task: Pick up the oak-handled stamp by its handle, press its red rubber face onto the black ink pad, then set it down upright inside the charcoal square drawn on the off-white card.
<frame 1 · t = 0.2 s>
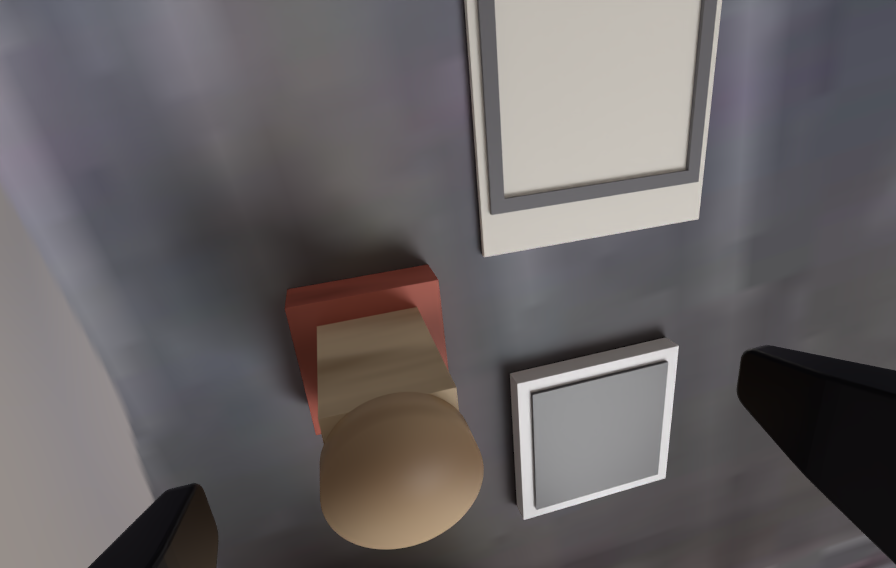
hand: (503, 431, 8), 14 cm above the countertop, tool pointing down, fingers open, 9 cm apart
print sheet: (596, 74, 20), on the countertop
stamp: (370, 337, 22), on the countertop
ink pad: (589, 424, 27), on the countertop
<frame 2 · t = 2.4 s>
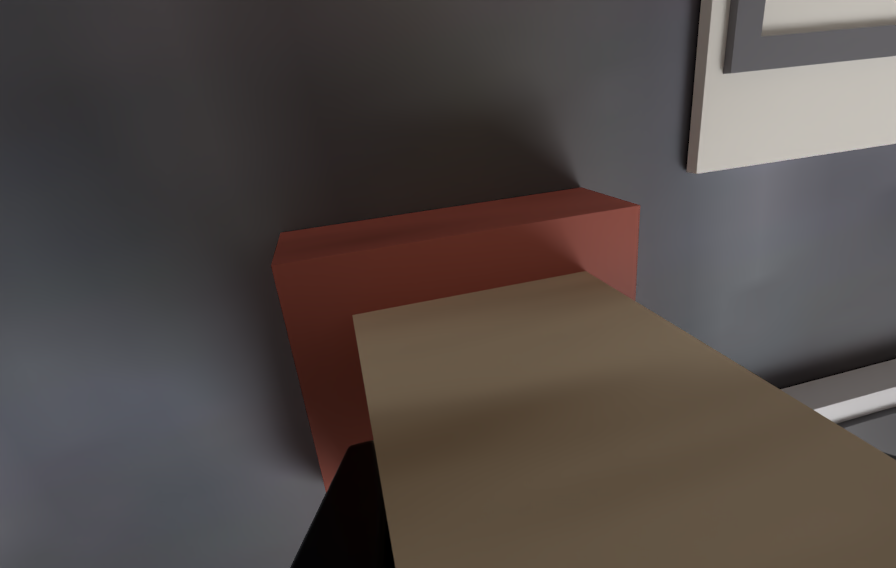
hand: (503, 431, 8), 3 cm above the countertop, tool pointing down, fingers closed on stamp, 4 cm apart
stamp: (454, 344, 10), on the countertop, touching gripper
ink pad: (805, 495, 16), on the countertop
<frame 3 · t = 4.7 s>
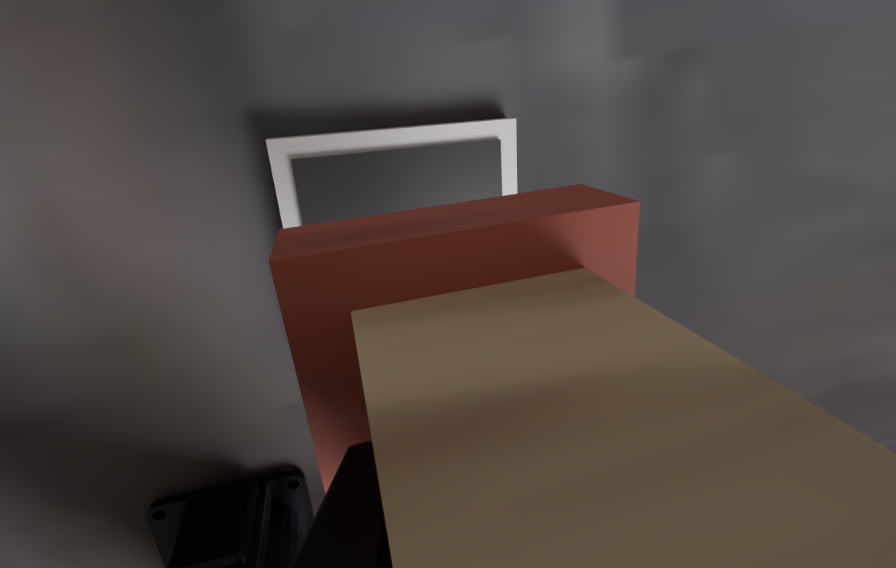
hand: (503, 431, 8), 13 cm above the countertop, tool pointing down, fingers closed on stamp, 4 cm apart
stamp: (453, 342, 10), point 10 cm above the countertop, touching gripper
ink pad: (405, 242, 20), on the countertop
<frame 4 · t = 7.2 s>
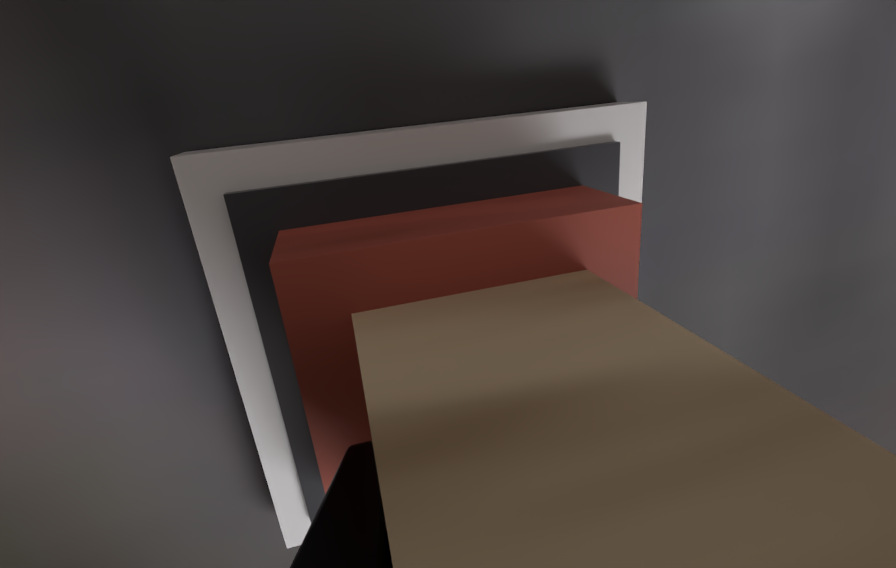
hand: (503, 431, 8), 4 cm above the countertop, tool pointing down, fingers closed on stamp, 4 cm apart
stamp: (454, 344, 10), point 1 cm above the countertop, touching gripper, ink pad
ink pad: (443, 322, 11), on the countertop
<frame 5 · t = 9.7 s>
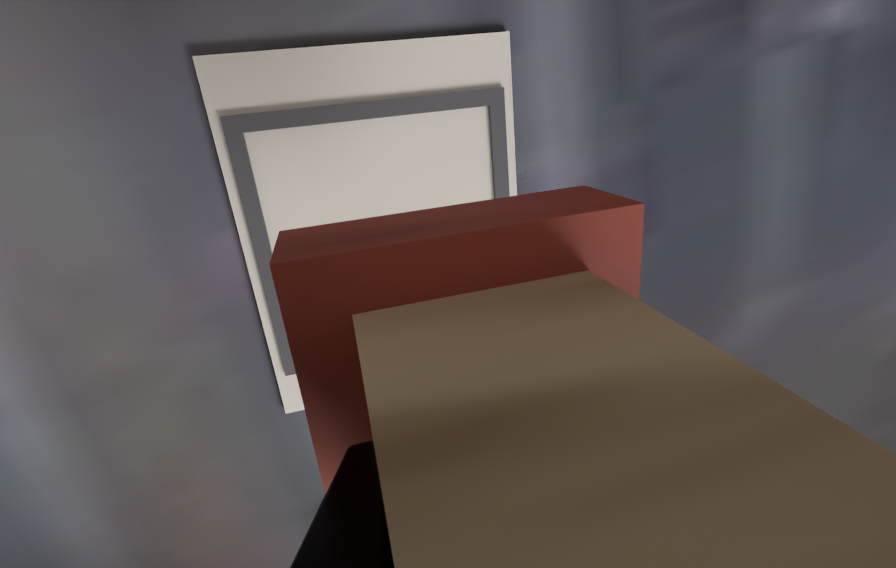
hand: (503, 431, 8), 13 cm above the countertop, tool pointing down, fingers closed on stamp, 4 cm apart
print sheet: (388, 234, 20), on the countertop
stamp: (455, 344, 10), point 10 cm above the countertop, touching gripper
when the fingers open (4 cm above the countertop, at t = 12.0 s): stamp drops 1 cm, resting on print sheet.
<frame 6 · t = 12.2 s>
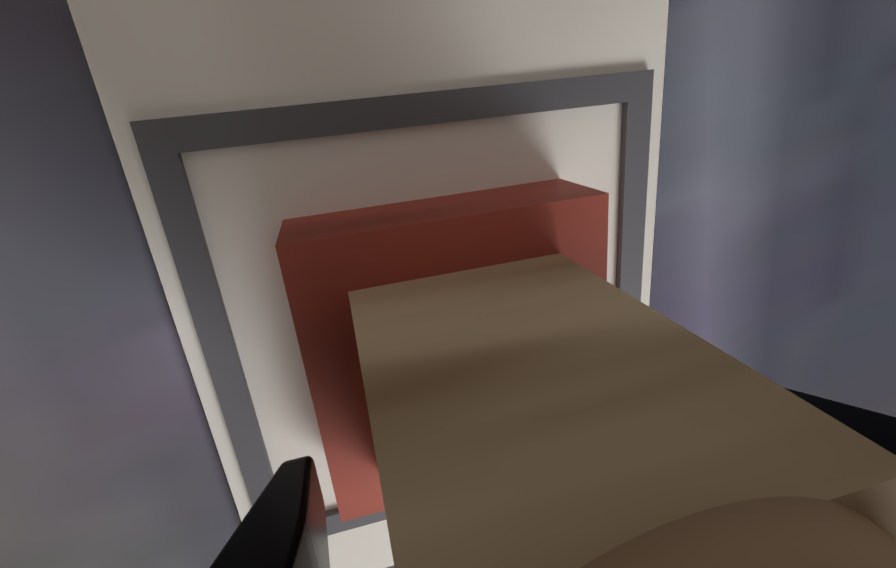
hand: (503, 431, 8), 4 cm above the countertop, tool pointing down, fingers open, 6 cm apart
print sheet: (440, 320, 12), on the countertop
stamp: (443, 324, 11), resting on print sheet
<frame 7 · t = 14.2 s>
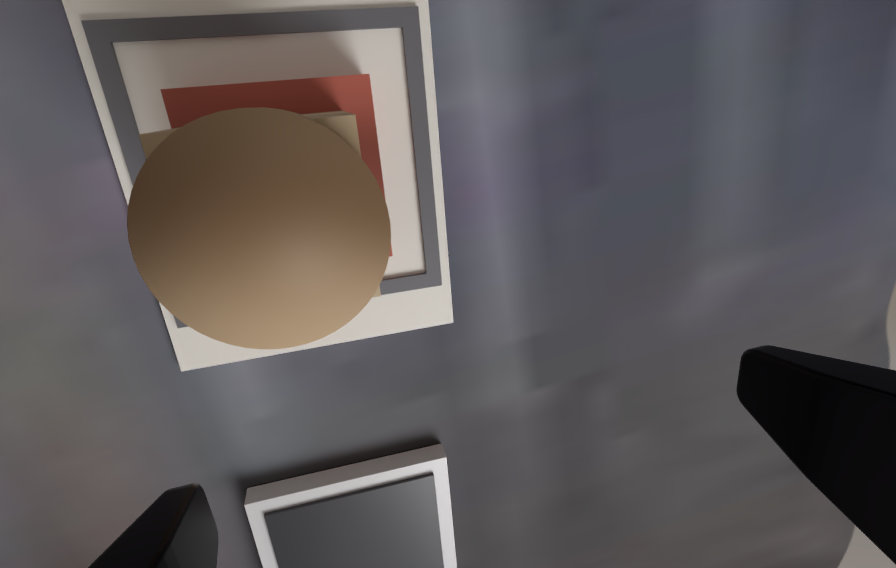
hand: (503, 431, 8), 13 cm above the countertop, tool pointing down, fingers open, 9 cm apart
print sheet: (292, 173, 18), on the countertop
stamp: (292, 173, 17), resting on print sheet
ink pad: (361, 535, 24), on the countertop
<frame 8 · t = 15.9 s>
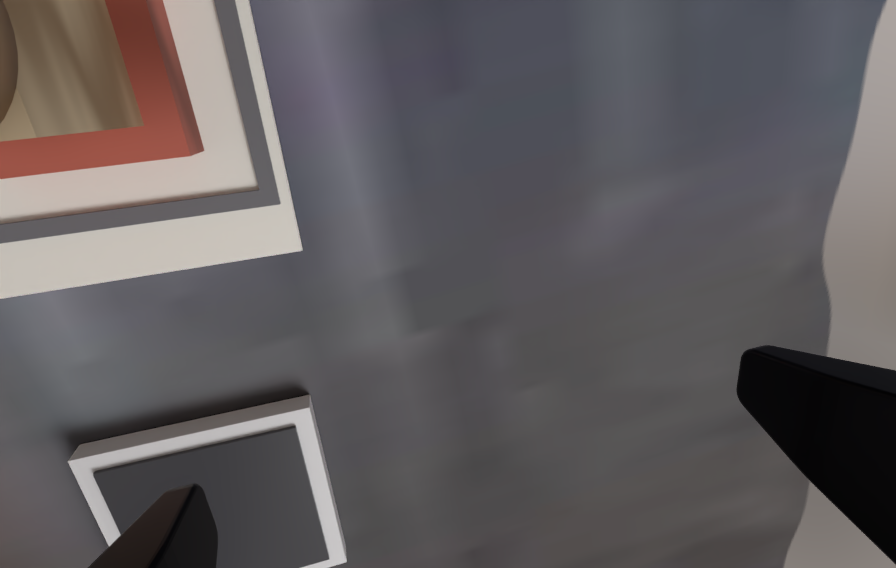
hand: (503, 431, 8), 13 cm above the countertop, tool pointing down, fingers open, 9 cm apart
print sheet: (78, 65, 15), on the countertop
stamp: (73, 63, 15), resting on print sheet
ink pad: (227, 500, 22), on the countertop
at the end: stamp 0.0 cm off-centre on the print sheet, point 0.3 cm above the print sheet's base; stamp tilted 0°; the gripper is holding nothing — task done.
